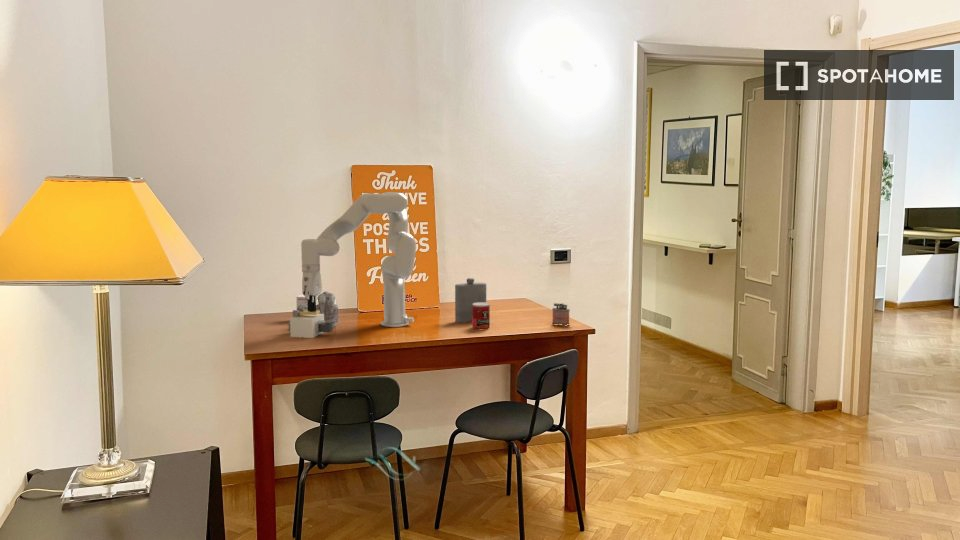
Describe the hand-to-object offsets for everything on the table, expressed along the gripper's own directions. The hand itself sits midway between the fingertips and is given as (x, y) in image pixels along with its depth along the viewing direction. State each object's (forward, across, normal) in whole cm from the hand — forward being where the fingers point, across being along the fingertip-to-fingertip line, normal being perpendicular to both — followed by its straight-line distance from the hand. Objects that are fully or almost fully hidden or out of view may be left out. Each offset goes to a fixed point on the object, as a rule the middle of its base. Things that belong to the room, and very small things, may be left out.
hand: (311, 310), depth 318 cm
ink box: (+10, +27, +15) cm, 33 cm away
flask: (+10, +42, -60) cm, 74 cm away
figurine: (+10, +18, +1) cm, 21 cm away
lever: (+2, 0, +2) cm, 3 cm away
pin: (+9, 0, +1) cm, 9 cm away
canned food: (+10, +28, -68) cm, 74 cm away
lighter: (+10, +42, -102) cm, 111 cm away
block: (+10, 0, +2) cm, 11 cm away
